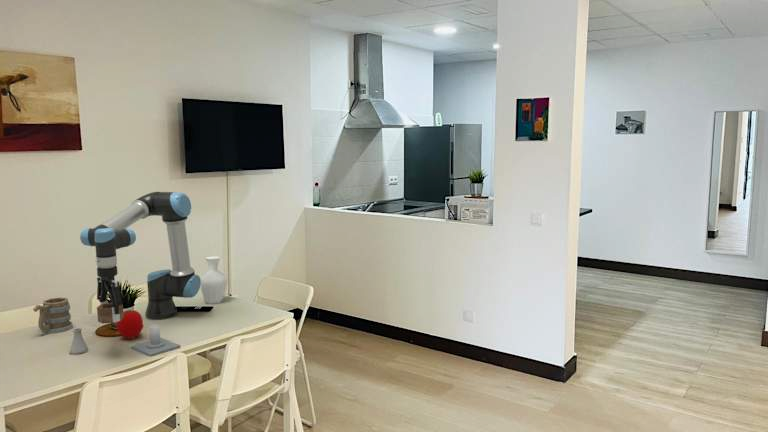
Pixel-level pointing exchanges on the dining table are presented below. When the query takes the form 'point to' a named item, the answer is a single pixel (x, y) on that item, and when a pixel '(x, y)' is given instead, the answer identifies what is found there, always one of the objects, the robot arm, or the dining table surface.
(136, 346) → the post fixture
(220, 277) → the vase
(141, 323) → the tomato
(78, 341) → the flask
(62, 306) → the tankard
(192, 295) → the robot arm
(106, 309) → the collar
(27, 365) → the dining table surface
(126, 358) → the dining table surface
